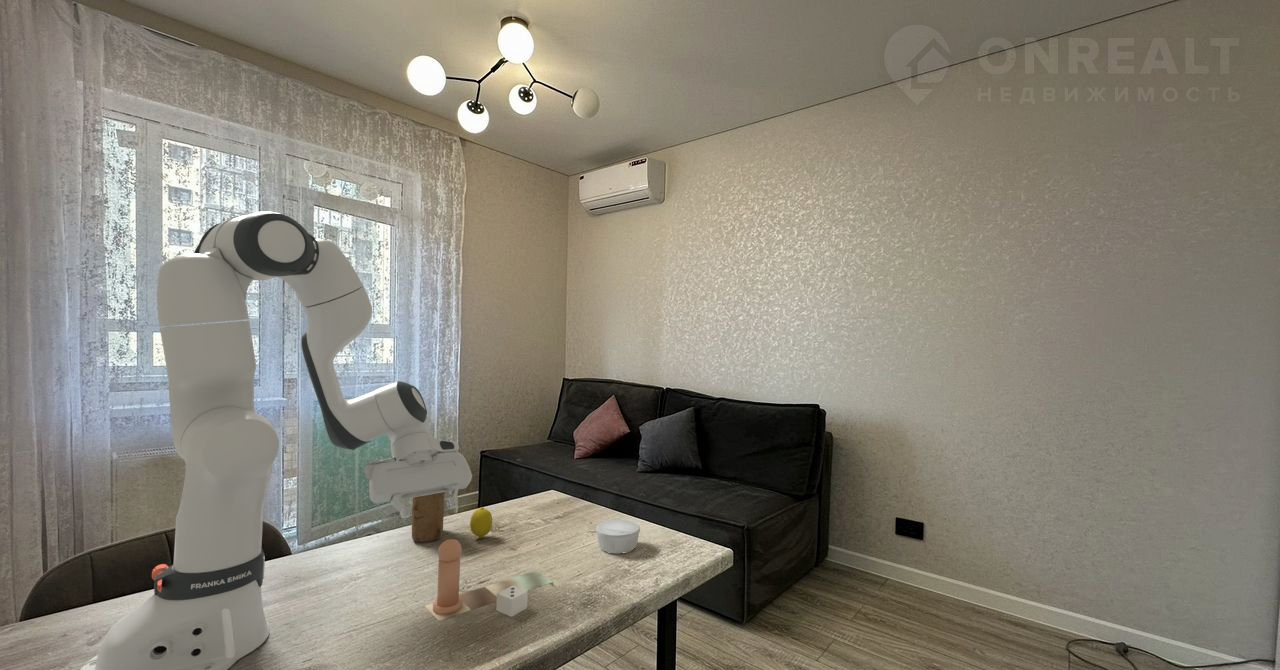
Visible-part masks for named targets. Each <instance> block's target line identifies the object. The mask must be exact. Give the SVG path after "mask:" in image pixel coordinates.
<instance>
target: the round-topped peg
mask: <svg viewBox="0 0 1280 670" xmlns="http://www.w3.org/2000/svg"><path fill="white" fill-rule="evenodd" d="M437 555H438V570H437V571H438V572H437V573H438V574H437V595H436V597H437V599H436V600H434V601H433V602H432V603H433V612H434V613H435V614H438V615H448V614H452V613H455V612H457V611H459V610H460V609H461V608H462V602H463V600H462V598H461V597H459V595H460V574H461V573H460V572H461V571H460V570H461V555H462V545H461V543H460V542H459V541H458V540H457V539H453V538H450V539H445V541H443V542H441V544H439V547H438V549H437Z"/></svg>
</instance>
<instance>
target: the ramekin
mask: <svg viewBox="0 0 1280 670" xmlns="http://www.w3.org/2000/svg"><path fill="white" fill-rule="evenodd" d="M640 532H641V527H640V525H639V524H638V523H637V522H634V521H631V520H626V519H610V520H605V521H602V522H600V523H598V524H597V525H596V527H595V533H596V536H597V545H598V547H599V549H600V550H601V549H602V550H603V551H602V550H601V551H602V552H604V551H606V552H610V553H623V552H629V551H631V550H633V549H634V548H635V549H636V548H637V546H638V540H639V539H638V538H639V534H640ZM635 549H634V550H635ZM634 550H633V551H634ZM606 552H605V553H606ZM610 553H609V554H610ZM629 553H630V552H629Z"/></svg>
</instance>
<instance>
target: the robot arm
mask: <svg viewBox="0 0 1280 670" xmlns="http://www.w3.org/2000/svg"><path fill="white" fill-rule="evenodd" d="M274 278H279V279H280V280H282V281H284V282H285V283H287V284H288V285H289V286H290V288H291V289H292V290H293V291H294V292H295V294H296V297H297V298H298V300H299V302H300V304H301V306H302V308H303V310H304V311H305V315H306V319H307V331H306V332H304V334H303V335H302V336H301V351H302V353H303V358H304V359H303V360H304V361H305V365H306V369H307V372H308V374H309V377H310V381H311V384H312V386H313V390H314V393H315V395H316V398H317V402H318V404H319V407H320V411H321V416H322V418H323V422H324V426H325V428H324V429H325V433H326V435H327V437H328V438H329V440H330V442H331V443H332V446H333V445H334V446H335V447H338V448H340V449H341V448H342V449H346V450H349V451H350V450H351V451H355V450H356V449H358V448H360V447H362V446H365V445H366V444H369V443H370V442H371V441H373V440H375V439H378V438H380V437H383V436H385V435H387V437H388V439H389V440H390V453H391V457H389V458H383V459H374V460H371V462H368V463H367V464H366V465H365V467H364V472H365V473H364V475H365V477H366V479H368V480H369V481H368V492H369V500H370V501H371V502H372V503H373V504H375V505H379V504H383V503H384V504H385V503H389V502H390V503H391V506H392V507H393V508H394V509H395V510H396V511H398V513H399V514H400V518H401V519H407V518H411V517H410V516H412V509H411V505H405V504H404V503H403V502H402V500H406V499H411V498H412V499H413V497H419V496H424V495H430V494H436V493H441V492H444V493H446V492H448V494H449V495H451V497H449V498H448V500H447V501H446V505H447V509H448V510H451V509H456V508H457V507H458V505H459V504H458V499H457V497H458V493H459V490H463V489H464V490H465V489H466V488H467V487H469V485H470V484H471V481H472V478H473V474H472V470H471V468H470V465H469V463H468V461H467V459H466V457H465V456H464V455H463V454H462V453H460V452H459V450H460V446H459V443H458V442H457V441H451V440H444V439H439V438H437V437H433V434H432V433H431V431H430V429H429V427H430V426H429V425H430V424H429V420H428V417H427V416H428V409H427V407H426V404H425V401H424V398H423V396H422V393H421V392H420V391H419V389H418V388H417V387H416V386H414V385H412V384H410V383H408V382H404V381H399V380H397V381H395V382H394V381H393V382H391V383H389V384H387V385H384V386H381V387H379V388H376V389H374V390H372V391H370V392H367V393H364V394H362V395H359V396H357V397H355V398H354V397H353V398H350V399H349V398H348V399H347V398H345V397H344V395H343V391H342V388H341V385H340V382H339V379H338V376H337V373H336V370H335V366H334V361H335V360H334V359H335V358H336V357H337V355H338V354H339V353H340V352H341V351H342V350H344V348H345V347H346V346H348V345H349V344H350V343H351V342H353V341H354V340H355V339H356V338H357V337H359V335H361V334H362V332H363V331H365V329H366V328H367V326H368V325H369V323H370V322H371V318H372V315H373V307H372V303H371V300H370V297H369V295H368V293H367V291H366V289H365V286H364V285H363V283H362V281H361V279H360V277H359V275H358V274H357V271H356V269H354V267H353V266H352V264H351V262H350V260H349V259H348V258H347V256H346V255H345V253H343V251H342V250H341V249H340V247H339V246H338V245H337V244H336V243H335V242H333V241H331V240H328V239H324V238H315V237H314V236H313V235H311V234H310V233H309V232H308V231H307V230H306V229H305V228H304V227H303V225H301V223H299V222H298V221H296V220H295V219H294V218H292V217H290V216H288V215H287V214H284V213H281V212H275V211H274V212H273V211H257V212H253V213H250V214H242V215H236V216H233V217H230V218H228V219H226V220H223V221H222V222H220V223H216V224H214V225H212V226H210V228H208V230H206V232H205V233H204V234H203V235H202V237H201V239H200V241H199V243H198V244H197V247H196V248H195V250H194V251H193V253H187V254H181V255H178V256H176V257H175V256H174V257H172V258H170V259H168V260H167V261H165V262H164V263H163V264H162V265H161V266H160V267H159V271H158V276H157V289H156V292H157V293H156V303H157V304H156V306H157V307H156V308H157V319H158V326H159V330H160V337H161V342H162V349H163V355H164V361H165V366H166V372H167V379H168V380H167V381H168V397H169V398H168V399H169V410H170V412H169V413H170V420H171V431H172V438H173V439H172V440H173V445H174V449H175V451H176V453H177V454H178V456H179V457H180V459H182V460H184V463H185V472H184V473H185V474H184V479H183V488H182V493H181V498H180V503H179V508H178V512H177V514H176V516H175V529H174V530H175V531H174V532H175V533H174V549H173V550H174V551H173V564H172V565H169V566H168V564H165V563H161V564H158V565H156V566H155V567H154V568H153V569H152V571H151V579H152V580H153V581H154V583H153V585H154V586H153V593H154V594H153V595H151V596H150V597H149V598H147V599H146V600H145V601H144V602H142V603H140V604H139V605H138V606H137V607H135V608H133V609H132V610H131V611H129V613H127V614H126V615H124V616H123V617H122V618H120V619H119V620H117V621H116V622H115V623H114V624H113V625H112V626H111V628H110V629H109V630H108V632H107V633H106V635H105V636H104V639H103V640H102V643H101V645H100V647H99V650H98V652H97V654H96V655H95V656H93V657H92V658H91V659H89V660H88V661H87V662H86V663H85V664H83V666H82V667H81V668H79V670H229V669H230V668H231V667H232V666H233V665H234V664H235V663H236V662H237V661H239V660H240V659H242V658H244V657H245V656H246V655H248V654H250V653H251V652H253V651H255V650H257V648H259V647H260V646H261V645H262V644H263V643H264V642H265V641H266V640H267V639H268V637H269V636H270V629H269V626H268V623H267V620H266V616H265V612H264V606H263V597H262V586H263V582H264V579H265V567H266V566H265V562H266V561H265V560H266V558H265V557H266V556H265V552H264V549H263V548H262V543H263V542H262V540H263V525H264V524H263V521H264V507H265V501H266V497H267V491H268V488H269V484H270V479H271V475H272V470H273V465H274V461H275V459H276V458H277V455H278V453H279V449H280V442H279V441H280V440H279V437H278V434H277V431H276V429H275V427H274V426H273V424H272V422H270V420H268V418H266V417H265V416H264V415H261V414H259V413H257V412H256V409H255V375H256V374H255V373H256V369H257V361H256V354H255V350H254V349H255V348H254V342H253V336H252V331H251V323H250V317H249V312H248V311H249V310H248V307H247V303H246V301H247V293H248V289H249V287H250V286H251V285H250V284H251V283H253V281H265V280H270V279H271V280H272V279H274ZM92 663H96V664H94V665H90V664H92Z"/></svg>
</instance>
